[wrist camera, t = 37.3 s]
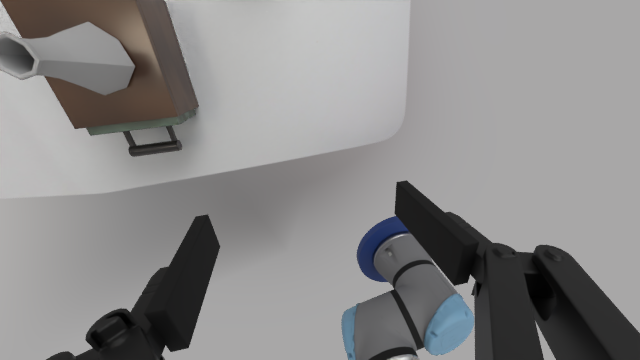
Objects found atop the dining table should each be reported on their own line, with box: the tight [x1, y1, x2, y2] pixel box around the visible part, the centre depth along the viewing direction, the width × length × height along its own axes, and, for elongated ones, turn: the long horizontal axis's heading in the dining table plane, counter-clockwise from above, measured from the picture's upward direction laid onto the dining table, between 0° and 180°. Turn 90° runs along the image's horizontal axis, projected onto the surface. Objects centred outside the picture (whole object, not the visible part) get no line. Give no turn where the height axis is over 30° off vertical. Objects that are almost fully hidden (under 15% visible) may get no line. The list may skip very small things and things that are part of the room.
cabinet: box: [0, 0, 199, 129], centre depth 31 cm, size 15×13×10 cm
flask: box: [0, 22, 135, 95], centre depth 22 cm, size 7×7×10 cm
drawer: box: [86, 109, 196, 157], centre depth 33 cm, size 18×11×8 cm, turn 5°
